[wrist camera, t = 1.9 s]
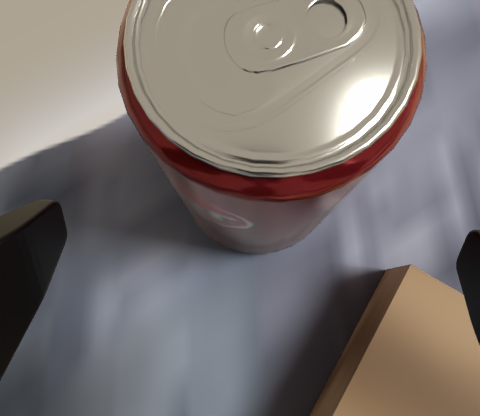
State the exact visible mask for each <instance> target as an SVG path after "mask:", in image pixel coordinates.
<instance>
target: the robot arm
mask: <svg viewBox="0 0 480 416" xmlns="http://www.w3.org/2000/svg"><path fill="white" fill-rule="evenodd" d="M66 239H67V229H66V225H65V221H64V216H63V212H62V208H61V205H60V203H59V202H57V201H55V200H42V199H41V200H37V201H34V202H32V203H30V204H27V205H25V206H23V207H20V208H18V209H16V210H13V211H11V212H9V213H6V214H4V215H2V216H0V380H1V378H2V376H3V374H4V372H5V370H6V369H7V367H8V365H9V363H10V361H11V359H12V357H13V355H14V353H15V352H16V350H17V348H18V346H19V344H20V342H21V340H22V338H23V336H24V335H25V333H26V331H27V329H28V327H29V325H30V323H31V321H32V319H33V318H34V316H35V314H36V312H37V310H38V308H39V306H40V304H41V302H42V300H43V298H44V296H45V294H46V291H47V289H48V286H49V284H50V281H51V279H52V276H53V273H54V271H55V268H56V266H57V263H58V261H59V258H60V255H61V253H62V250H63V248H64V245H65V242H66ZM456 269H457V273H458V277H459V280H460V284H461V287H462V291H463V295H464V298H465V302H466V305H467V309H468V313H469V316H470V320H471V323H472V326H473V329H474V332H475V335H476V337H477V340H478V343H479V345H480V230H472V231H470V232H469V233H468V235H467V237H466V239H465V242H464V244H463V246H462V249H461V251H460V253H459V256H458V258H457V262H456Z"/></svg>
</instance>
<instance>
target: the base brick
mask: <svg viewBox="0 0 480 416" xmlns="http://www.w3.org/2000/svg"><path fill="white" fill-rule="evenodd" d="M309 416H480V345H479V343H478V340H477V337H476V335H475V332H474V329H473V326H472V323H471V320H470V316H469V313H468V309H467V305H466V302H465V298H464V295H463V294H461V293H460V292H458V291H456V290H454V289H453V288H451V287H449V286H447V285H446V284H444V283H442V282H441V281H439V280H437V279H435V278H434V277H432V276H430V275H428V274H427V273H425V272H423V271H421V270H420V269H418V268H416V267H414V266H413V265H406V266H401V267H396V268H392V269H387V270H386V271H385V273H384V275H383V277H382V279H381V281H380V282H379V284H378V286H377V288H376V290H375V292H374V294H373V296H372V298H371V300H370V301H369V303H368V305H367V307H366V309H365V311H364V313H363V315H362V317H361V318H360V320H359V322H358V324H357V326H356V328H355V330H354V332H353V334H352V335H351V337H350V339H349V341H348V343H347V345H346V347H345V349H344V351H343V353H342V354H341V356H340V358H339V360H338V362H337V364H336V366H335V368H334V370H333V371H332V373H331V375H330V377H329V379H328V381H327V383H326V385H325V387H324V389H323V390H322V392H321V394H320V396H319V398H318V400H317V402H316V404H315V406H314V407H313V409H312V411H311V413H310V415H309Z"/></svg>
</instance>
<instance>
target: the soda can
mask: <svg viewBox="0 0 480 416" xmlns="http://www.w3.org/2000/svg"><path fill="white" fill-rule="evenodd" d="M116 63H117V75H118V85H119V89H120V92H121V95H122V98H123V101H124V104H125V108H126V111H127V113H128V115H129V117H130V119H131V120H132V122H133V124H134V125H135V127H136V129H137V131H138V132H139V134H140V136H141V137H142V139H143V141H144V142H145V144H146V145H147V147H148V148H149V150H150V151H151V153H152V155H153V156H154V158H155V159H156V161H157V162H158V164H159V165H160V167H161V169H162V170H163V172H164V173H165V175H166V176H167V178H168V179H169V181H170V183H171V184H172V186H173V187H174V189H175V190H176V192H177V193H178V195H179V197H180V198H181V200H182V201H183V203H184V204H185V206H186V207H187V209H188V211H189V212H190V214H191V215H192V217H193V218H194V220H195V221H196V223H197V224H198V225H199V226H200V228H201V229H202V230H203V231H204V232H205V233H206V234H207V235H208V236H210V237H211V238H212V239H214V240H215V241H216V242H218V243H220V244H222V245H224V246H226V247H228V248H230V249H232V250H236V251H240V252H245V253H256V254H264V253H271V252H277V251H280V250H283V249H285V248H288V247H291V246H293V245H294V244H296V243H298V242H299V241H301V240H303V239H304V238H305V237H306V236H307V235H308V234H310V233H311V232H312V231H313V230H314V229H315V228H316V227H317V226H318V225H319V224H320V223H321V222H322V221H323V220H324V219H325V218H326V217H327V216H328V215H329V214H330V213H331V212H332V211H333V210H334V209H335V208H336V207H337V206H338V205H339V204H340V202H341V201H342V200H343V199H344V198H345V197H346V196H347V195H348V194H349V193H350V192H351V191H352V190H353V189H354V188H355V187H356V186H357V185H358V184H359V183H360V182H361V181H362V180H363V179H364V178H365V177H366V176H367V175H368V174H369V173H370V172H371V171H372V170H373V169H374V168H375V167H376V166H377V165H378V164H379V163H380V162H381V161H382V160H383V159H384V158H385V157H386V156H387V155H388V154H389V153H390V152H391V151H392V150H393V149H394V147H395V146H396V144H397V143H398V142H399V140H400V139H401V137H402V136H403V134H404V133H405V132H406V130H407V129H408V127H409V126H410V124H411V122H412V120H413V117H414V115H415V112H416V110H417V108H418V105H419V103H420V100H421V98H422V92H423V86H424V81H425V75H426V67H427V62H426V44H425V35H424V32H423V28H422V24H421V21H420V17H419V14H418V11H417V9H416V7H415V5H414V2H413V0H130V1H129V3H128V6H127V9H126V12H125V15H124V18H123V20H122V23H121V26H120V32H119V39H118V47H117V55H116Z"/></svg>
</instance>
